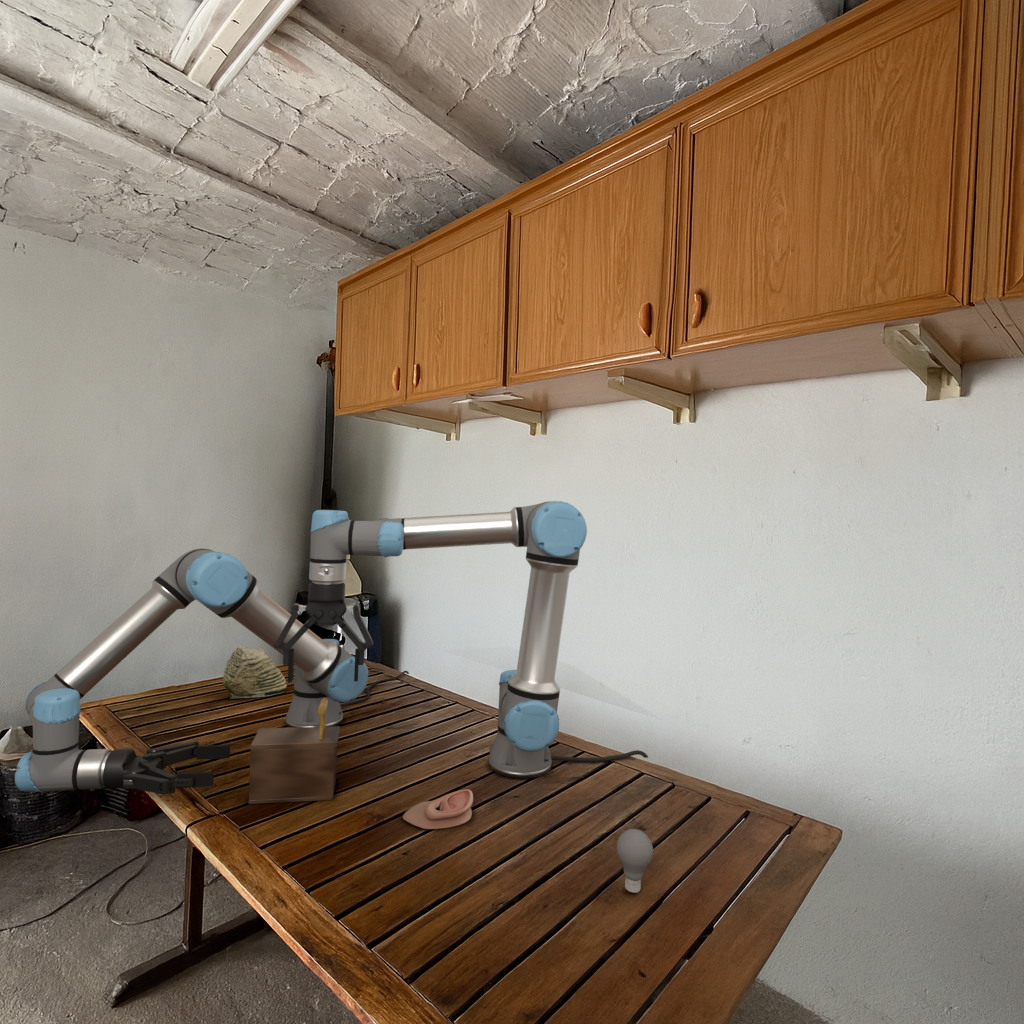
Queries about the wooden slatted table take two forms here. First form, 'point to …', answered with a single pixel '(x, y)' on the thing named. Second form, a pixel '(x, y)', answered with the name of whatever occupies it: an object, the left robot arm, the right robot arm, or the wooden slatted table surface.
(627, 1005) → the wooden slatted table surface
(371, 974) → the wooden slatted table surface
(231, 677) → the fossil
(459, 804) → the anatomical model
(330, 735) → the lid
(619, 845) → the light bulb
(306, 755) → the chest
